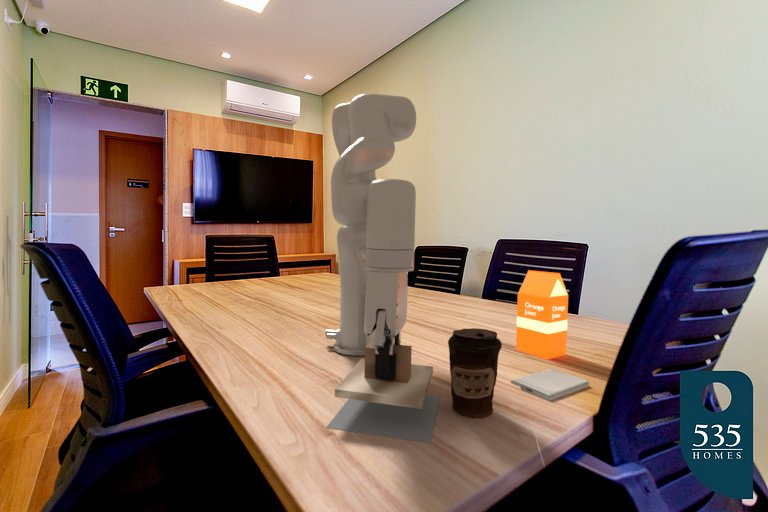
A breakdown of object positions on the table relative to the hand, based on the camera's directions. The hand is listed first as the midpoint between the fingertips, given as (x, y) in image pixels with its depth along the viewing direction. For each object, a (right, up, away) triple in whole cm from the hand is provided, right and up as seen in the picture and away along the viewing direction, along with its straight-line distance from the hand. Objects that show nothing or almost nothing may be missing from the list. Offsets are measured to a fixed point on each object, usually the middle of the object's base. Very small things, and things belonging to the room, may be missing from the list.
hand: (387, 373), depth 59 cm
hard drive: (+31, -7, +11) cm, 34 cm away
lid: (0, -2, 0) cm, 2 cm away
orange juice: (+38, -5, +32) cm, 50 cm away
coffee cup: (+14, -6, 0) cm, 15 cm away
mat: (0, -6, -1) cm, 6 cm away
